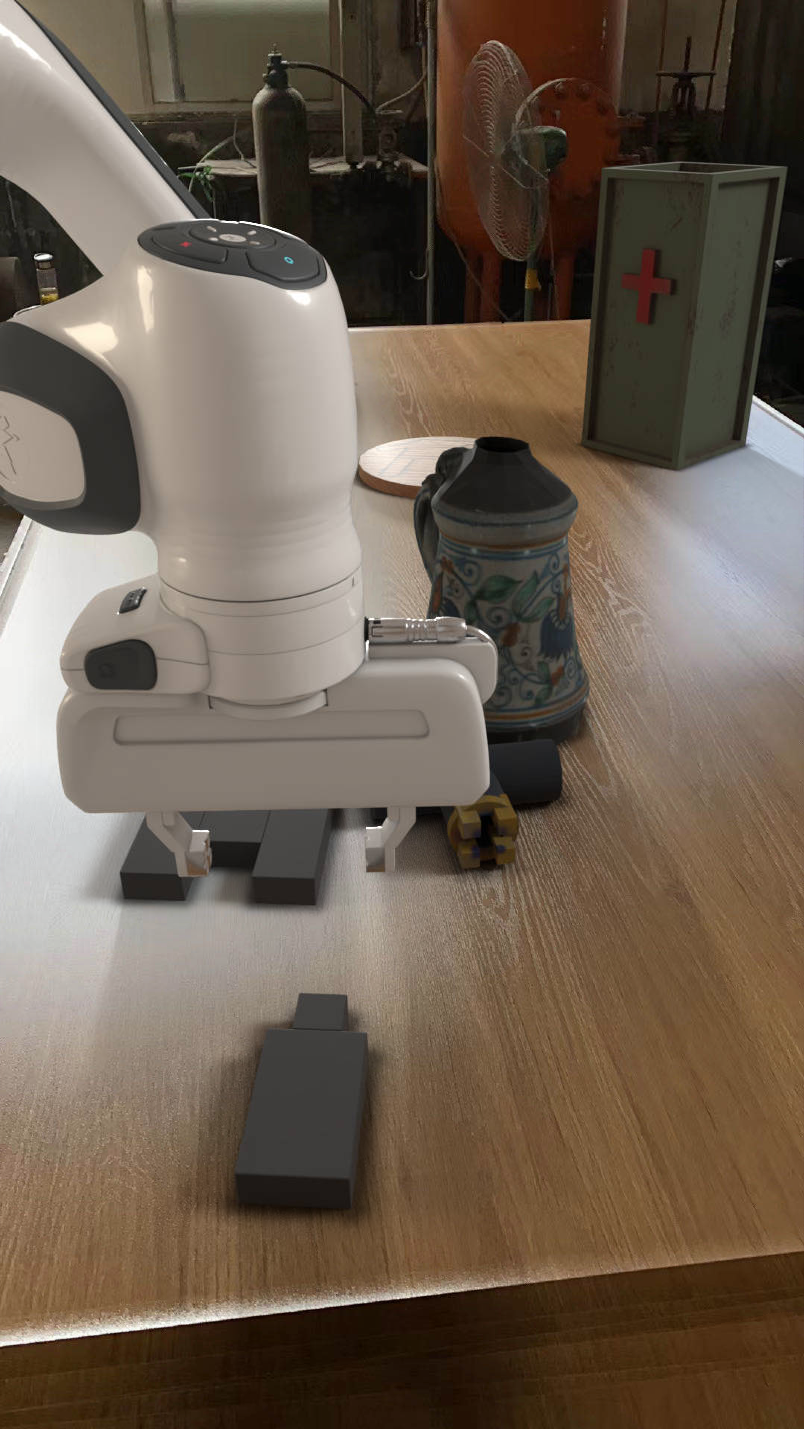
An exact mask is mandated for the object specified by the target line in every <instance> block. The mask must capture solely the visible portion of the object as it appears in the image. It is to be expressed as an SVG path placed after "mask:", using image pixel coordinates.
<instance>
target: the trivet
mask: <svg viewBox="0 0 804 1429" xmlns="http://www.w3.org/2000/svg"><path fill="white" fill-rule="evenodd" d="M477 439H478V438H473V437H462V436H424V437H423V436H422V437H412V438H404V439H397V440H393V441H390V442H385V443H382V444H378V445H377V446H376V445H375V446H374V447H372V448H370V449H368V450H366V451H365V452H364V453H362V454H361V455H360V456H359V460H358V475H359V477H360V479H361V480H362V482H363V483H365V484H366V485H368V486H369V487H370V488H372V489H375V490H377V491H380V492H382V493H386V494H387V495H393V496H399V497H405V498H410V499H416V496H417V494H418V492H419V490H420V488H421V487H422V484H421V483H422V482H423V481H424V480H425V479H426V477H427V476H428V475H430V474H433V473H435V467H436V463H437V460H438V458H439V457H440V455H441V454H442V452H443V451H446V450H448V449H451V448H454V447H465V448H470V449H471V448H473V445H474V442H475V440H477Z"/></svg>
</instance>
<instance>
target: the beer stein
mask: <svg viewBox="0 0 804 1429" xmlns="http://www.w3.org/2000/svg"><path fill="white" fill-rule="evenodd" d="M476 439H477V440H475V442H474V445H473V448H471V449H470V448H465V447H454V448H451V449H448V450H446V451H443V452H442V454H441V455H440V457H439V458H438V460H437V463H436V467H435V473H433V474H430V475H428V476H427V477H426V479H425V480H424V481H423V482H422V483H421V484H422V487H421V488H420V490H419V492H418V494H417V496H416V498H414V503H413V511H412V521H413V530H414V535H415V540H416V544H417V547H418V552H419V554H420V558H421V561H422V564H423V567H424V570H425V572H426V574H427V577H428V579H429V582H430V585H431V587H430V594H429V599H428V606H427V611H426V617H425V620H428V619H436V618H439V617H457V618H462V619H465V623H466V625H469V626H473V627H476V628H479V629H481V630H483V631H484V632H485V633H486V634H488V635H489V636H490V637H491V639H492V640H493V641H494V643H495V645H496V648H497V651H498V681H497V685H496V688H495V691H494V692H493V694H492V696H491V697H490V698H489V699H488V700H487V701H486V702H485V703H484V704H482V707H483V713H484V719H485V727H486V735H487V744H488V745H494V744H504V743H514V742H525V741H535V740H545V739H552V740H553V741H554V742H555V744H556V746H558V745H560V744H561V743H564V742H565V741H567V740H568V739H571V738H572V737H574V736H576V735H578V731H579V729H580V724H581V721H582V717H583V714H584V710H585V706H586V703H587V701H588V698H589V695H590V691H591V690H590V679H589V675H588V672H587V671H586V669H585V667H584V663H583V661H582V658H581V654H580V649H579V645H578V636H577V630H576V622H575V611H574V601H573V589H572V575H571V562H570V551H569V550H570V549H569V531H570V529H571V527H572V526H573V525H574V523H575V521H576V516H577V512H578V509H579V499H578V498H577V495H576V494H575V493H574V492H573V490H572V489H571V487H570V486H569V485H568V484H567V483H566V482H564V481H563V479H561V477H559V476H558V475H557V474H555V473H554V472H552V471H551V470H550V469H549V468H547V467H546V466H545V465H544V464H542V463H541V462H540V461H539V460H538V459H537V458H536V457H535V456H534V455H533V454H532V453H533V452H532V450H531V446H530V443H529V442H527V441H525V440H522V439H518V438H514V437H509V436H495V435H491V436H481V437H479V438H476ZM467 637H475V636H472V635H468V634H466V638H467Z"/></svg>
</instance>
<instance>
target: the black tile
mask: <svg viewBox="0 0 804 1429" xmlns="http://www.w3.org/2000/svg"><path fill="white" fill-rule="evenodd" d="M348 1001H349V1000H348V995H347V994H346V993H345V994H341V993H320V992H319V993H315V992H299V993H298V997H297V1003H296V1008H295V1012H294V1018H293V1022H292V1026H291V1027H292V1028H270V1027H269V1028H267V1029H266V1032H265V1035H264V1039H263V1043H262V1048H261V1053H260V1057H259V1062H258V1066H257V1071H256V1076H255V1080H254V1084H253V1089H252V1094H251V1096H250V1097H251V1098H250V1103H249V1107H248V1112H247V1115H246V1120H245V1125H244V1128H243V1134H242V1138H241V1142H240V1146H239V1152H238V1155H237V1160H236V1165H235V1169H234V1173H233V1174H234V1181H235V1188H236V1195H237V1201H238V1204H239V1205H255V1206H257V1205H258V1206H277V1207H297V1208H319V1209H336V1210H337V1209H340V1210H351V1209H353V1200H354V1199H353V1198H354V1191H355V1183H356V1173H357V1167H358V1166H357V1165H358V1155H359V1148H360V1139H361V1129H362V1121H363V1112H364V1105H365V1104H364V1103H365V1095H366V1086H367V1079H368V1078H367V1076H368V1068H369V1040H368V1032H366V1031H349V1026H350V1025H349V1024H350V1021H349V1002H348Z"/></svg>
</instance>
